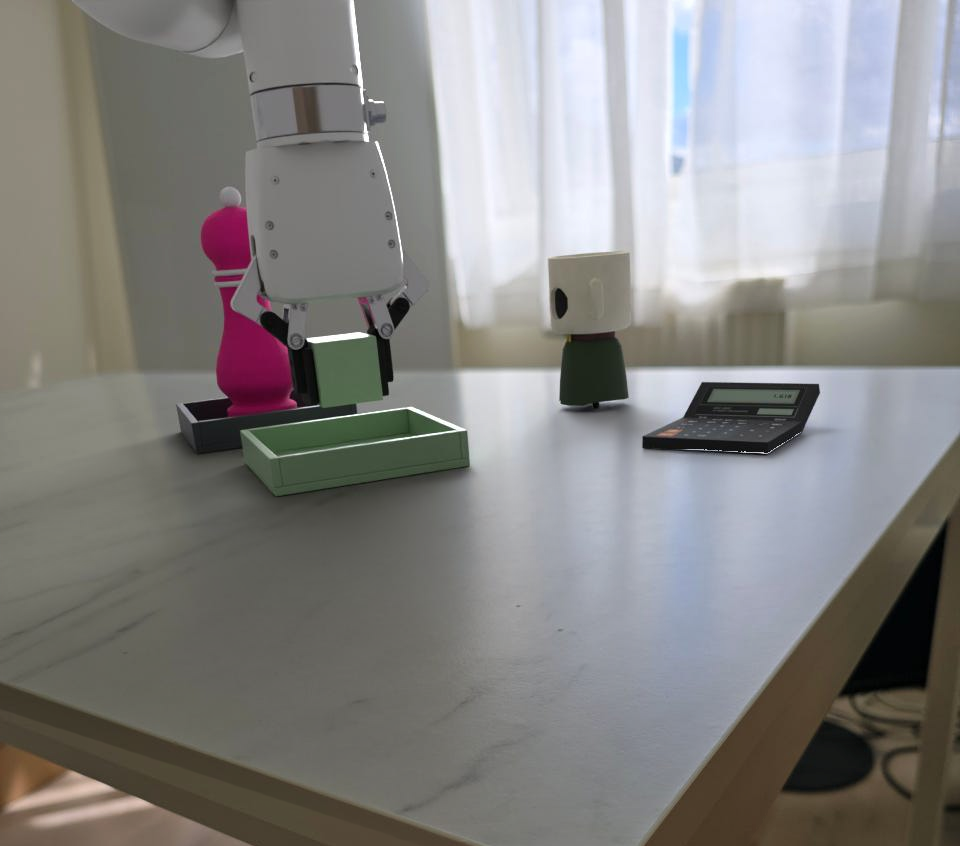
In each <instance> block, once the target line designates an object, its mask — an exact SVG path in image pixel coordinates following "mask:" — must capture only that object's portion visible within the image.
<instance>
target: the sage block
mask: <svg viewBox="0 0 960 846" xmlns="http://www.w3.org/2000/svg"><path fill="white" fill-rule="evenodd" d="M305 338H306V339H307V342H308V348H311V349H312V351H313V355H314V362H315V370H316V377H317V384H318V392H319V399H320V403H318V405H319V406H321V407H323V408H327V407H335V406H342V405H349V404H356V405H357V404H362V403H363V404H364V403H370V402H378V401H383V400H384V396H383V394H382V385H381V377H380V368H379V359H378V350H377V341H376V336H373V335H369V334H367V333H363V332H359V331H358V332H351V333H341V334H333V335H324V336H316V337H305Z"/></svg>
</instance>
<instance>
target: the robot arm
mask: <svg viewBox="0 0 960 846" xmlns="http://www.w3.org/2000/svg"><path fill="white" fill-rule="evenodd" d="M70 1H71V2H72V3H73V4H75V5H76V7H78V8H79V9H80V10H82V11H83V12H84V13H85V14H86V15H88V16H90V18H92V19H94V21H97V22H98V23H99V24H100V25H102V26H104V27H105V28H107V29H109V30H110V31H112V32H113V33H116V34H118V35H121V36H122V37H124V38H126V39H131V40H134V41H137V42H141V43H145V44H150V45H154V46H158V47H162V48H167V49H170V50H172V51H175V52H179V53H182V54H186V55H191V56H194V57H199V58H204V59H219V58H226V57H231V56H234V55H238V54H240V53H242V52H243V61H244V67H245V72H246V73H245V74H246V79H247V86H248V94H249V100H250V108H251V112H252V120H253V121H252V122H253V127H254V133H255V140H256V148H254V149H253V148H252V149H250V150H248V151H246V152H245V159H244V183H245V184H244V188H245V205H246V206H245V208H246V209H247V221H248V232H249V242H250V252H251V262H250V264H249V266H248V268H247V270H246V272H245V274H244V276H243V278H242V280H241V282H240V284H239V286H238V288H237V290H236V292H235V294H234V296H233V298H232V300H231V303H230V304H231V307H232V309H233V310H234V311H236V312H238V313H239V314H241V315H243V316H244V317H246V318H248V319H250V320H251V321H253V322H255V323H257V324H258V325H260V326H261V327H263V328H264V329H265V330H266V331H268V332H269V333H270V334H271V335H273V336H274V337H275V338H276V339H278V340H279V341H280V342H281V343H282V344H283V345H284V346H286V347H287V350H288V357H289V363H290V370H291V377H292V384H293V389H294V392H295V394H296V395H297V394H302V400H303V402H304V403H306V404H308V405H309V406H315V405H318V403H320V399H319V392H318V384H317V377H316V370H315V362H314V355H313V351H312V349H311V348H308V342H307V339H306V338H307V337H306V330H307V320H308V309H309V304H310V303H319V302H320V303H321V302H330V301H338V300H339V301H340V300H348V299H357V301H358V303H359V307H360V310H361V312H362V315H363V318H364V320H365V324H366V326H367V329H366V334H369V335H373V336H376V341H377V350H378V359H379V368H380V377H381V385H382V394H383V397H387V396H390V387H389V383H394V379H395V378H394V367H393V359H392V349H391V341H390V339H391V338H392V337H394V335H395V330H396V329H397V327H398V326H399V325H400V323H401V322H402V321H403V320H404V318H405V316H406V315H408V313H409V311H410V309H411V308H412V307H413V306H415V305H416V304H417V303H418V302H419V301H420V300H421V299H422V298H423V297H424V296H425V295H426V294H427V293H428V292H429V290H430V287H431V284H430V282H429V280H428V279H427V277H426V276H425V275H424V274H423V272H422V271H421V270H420V269H419V268H418V266H417V265H416V264H415V263H414V261H413V260H412V259H411V258H410V256H409V255H408V254H407V253H406V251H405V250H404V249H403V248H402V242H401V237H400V230H399V225H398V219H397V213H396V208H395V203H394V199H393V194H392V190H391V186H390V182H389V178H388V173H387V169H386V165H385V161H384V158H383V155H382V152H381V149H380V145H379V142H378V141H375V140H369V133H371V128H372V127H374V126H376V124H385V123H386V121H387V107H386V105H385V102H384V101H374V100H373V99H369V96H368V95H367V89H364V88H363V87H364V86H363V76H362V68H361V59H360V58H361V57H360V50H359V40H358V30H357V22H356V21H357V20H356V13H355V2H354V0H70ZM400 287H401V288H400ZM399 288H400V290H399V291H398V292H397V293H396V294H395V295H394V296H393V297H391V298H390V299H388V301H387V302H386V300H385V297H384V295H387V294H390V293H392V292H394V291H396V290H397V289H399ZM257 294H259V296H260V297H262V298H263V299H266V300H268V301H270V302H273V303H279V304H282V314H281V316H279V315H278V314H276V312H273V311H272V310H271V311H272V312H271V311H270V310H268V309H266V308H265V307H263V306H262V305H260V304H259V303H258V301H257Z"/></svg>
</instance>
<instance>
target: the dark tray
mask: <svg viewBox="0 0 960 846" xmlns="http://www.w3.org/2000/svg"><path fill="white" fill-rule="evenodd" d="M289 399H291V400H294V401H295V402H296V403H297V408H295V409H287V410H280V411H272V412H264V413H257V414H249V415H242V416H234V417H228V412H227V410H228V408H229V407H231V406H232V405H233V403H232V401H231V400H230V399H229V398H228V397H227V396H226V397H218V398H209V399H201V400H194V401H187V402H179V403H178V402H177V403H175V408H176V412H177V416H178V422H179V429H180V432H181V433H182V435H183V436H184V438H185V439H186V440H187V442H188V443H189V445H190V446H191V447H192V449H193V450H194V452H195V453H196V454H197V455H199V454H206V453H213V452H220V451H229V450H234V449H241V448H242V449H243V446H242V440H241V434H240V430H246V429H247V430H248V429H253V428H261V427H268V426H275V425H282V424H290V423H297V422H304V421H312V420H319V419H326V418H334V417H341V416H348V415H356V414H358V407H357V404H349V405H342V406H335V407H327V408H323V407H321V406H319V405H315V406H309V405H308V404H306V403H304V402H303V400H302V394H297V395H296V394H295V392H294V389H293V390H292V391H291V393H290V395H289Z"/></svg>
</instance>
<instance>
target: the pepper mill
mask: <svg viewBox="0 0 960 846" xmlns="http://www.w3.org/2000/svg"><path fill="white" fill-rule="evenodd" d="M219 201H220V204H221V205H222V206H223V208H219V209H217V210H215V211H213V212H211V213H210V214H209V215H208V216H207V217H206V218H205V219H204V221H203V224H202V225H201V229H200V244H201V245H200V246H201V248H202V251H203V253H204V255H205V256H206V257H207V259H209V261H210V262H211V263H212V264H213V265H214V267H215V270H213V271H212V272H211V275H212V276H213V277H214V278H213V280H214V283H213V286H214V287H215V288H218V289H219V293H220V297H221V301H222V302H221V303H222V308H223V329H222V336H221V341H220V345H219V349H218V353H217V356H216V357H217V358H216V364H215V365H216V366H215V373H216V374H215V375H216V376H215V377H216V383H217V387H218V388H219V390H220V391H221V393H223V394H224V395H225V396H226V397H228V398H229V399H230V400H231V401H232V403H233V405H232V406H231V407H229V408H228V410H227V412H228V417H234V416H242V415H249V414H257V413H264V412H272V411H280V410H287V409H295V408H297V403H296V402H295V401H294V400H291V399H289V395H290V393H291V391H292V390H293V384H292V377H291V370H290V363H289V357H288V350H287V347H286V346H284V345H283V344H282V343H281V342H280V341H279V340H278V339H276V338H275V337H274V336H273V335H271V334H270V333H269V332H268V331H266V330H265V329H264V328H263V327H261V326H260V325H258V324H257V323H255V322H253V321H251V320H250V319H248V318H246V317H244V316H243V315H241V314H239V313H238V312H236V311H234V310H233V309H232V307H231V304H230V303H231V300H232V298H233V296H234V294H235V292H236V290H237V288H238V286H239V284H240V282H241V280H242V278H243V276H244V274H245V272H246V270H247V268H248V266H249V264H250V262H251V252H250V242H249V232H248V221H247V209H246V207H244V206H240V205H241V203H242V196H241V193H240V192H239V190H238V189H237V188H235V187H233V186H226V187H224V188H223V189H221V191H220V193H219ZM257 301H258V303H259V304H260V305H262V306H263V307H265V308H266V309H268V310H270V311H271V312H273V311H272V305H271V301H268V300H266V299H263V298H262V297H260V296H259V294H257Z"/></svg>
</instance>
